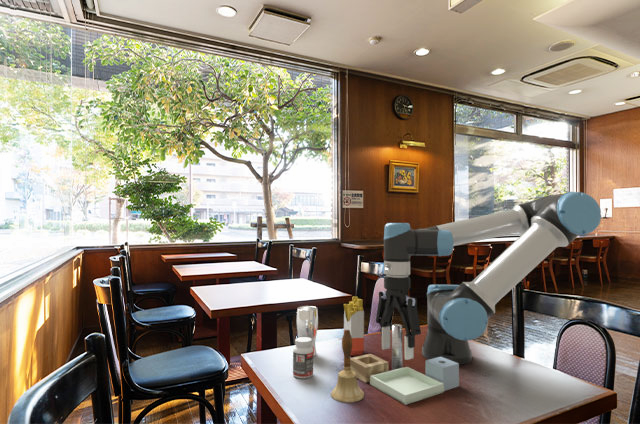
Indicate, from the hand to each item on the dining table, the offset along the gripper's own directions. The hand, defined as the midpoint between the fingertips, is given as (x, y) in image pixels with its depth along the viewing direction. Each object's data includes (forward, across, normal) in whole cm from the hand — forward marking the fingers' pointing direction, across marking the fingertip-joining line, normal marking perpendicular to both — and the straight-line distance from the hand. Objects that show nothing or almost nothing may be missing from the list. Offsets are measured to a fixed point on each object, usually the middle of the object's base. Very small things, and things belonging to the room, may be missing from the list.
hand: (397, 353), depth 110 cm
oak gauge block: (+5, -2, -9) cm, 10 cm away
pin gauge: (+5, 0, 0) cm, 5 cm away
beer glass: (+5, -25, -16) cm, 30 cm away
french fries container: (+5, -19, -2) cm, 20 cm away
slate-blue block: (+5, +13, +4) cm, 15 cm away
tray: (+5, +10, -6) cm, 13 cm away
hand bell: (+5, +6, -21) cm, 23 cm away
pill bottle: (+5, -11, -25) cm, 28 cm away
